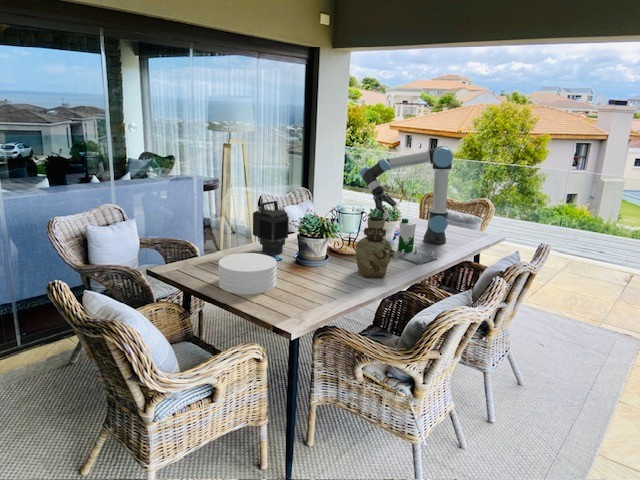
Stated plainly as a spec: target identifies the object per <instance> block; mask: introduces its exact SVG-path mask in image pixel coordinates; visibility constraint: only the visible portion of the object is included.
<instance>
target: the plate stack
mask: <svg viewBox="0 0 640 480" xmlns="http://www.w3.org/2000/svg"><path fill="white" fill-rule="evenodd" d="M277 265H278V262H277V260H276V259H275V258H274V257H272V256H271V255H267V254H264V253H263V254H262V253H255V252H254V253H253V252H251V253H250V252H242V253H233V254H229V255H226V256H223V257H221V258H220V259H219V261H218V286H219V288H221V290H223V291H225V292H228V293H232V294H237V295H258V294H262V293H263V294H264V293H266V292H269V291H272V290H273V289H274V288H275V287H276V286H277V274H278V273H277V269H278V268H277Z"/></svg>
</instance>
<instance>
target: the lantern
mask: <svg viewBox="0 0 640 480" xmlns="http://www.w3.org/2000/svg"><path fill="white" fill-rule="evenodd" d="M272 204H273V208H274V209H273V210H271V209H265V206H267V205H272ZM257 209H258V210H256V211H253V213H252V235H253V236H254V237H257V238H258V239H259V244H260V245H262V246H261V247H262V248H261V252H262V253H263V255H267V256H278V255H281V254H283V251H284V250H283V248H284V247H283V246H285V245H286V239H288V238H289V218H290V217H289V216H288V212H286V211H285V210H281V209H279V204H278V201H276V200H272V201H267V202H262V203H260V204H259V206H258V207H257Z"/></svg>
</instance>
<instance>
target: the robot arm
mask: <svg viewBox="0 0 640 480" xmlns="http://www.w3.org/2000/svg"><path fill="white" fill-rule="evenodd" d="M453 160H454V155H453V152H452V150H451V149H450V148H449V147H448V146H446V145H440V146H437V147H433V148H430V149H427V151H421V152H417V153H411V154H406V155H401V156H396V157H390V158H382V159H379V160H378V161H377V163H375V164H374V165H372V167H369V166H366V167H364V168H362V169H361V170H360V171H359V175H360V177H361V179H362V180H363V182H364V184H365V186H367V188H368V189H369V191H370V192H371V194H372V195H373V196H372V199H373V200H374V204H375V208H376V210H377V211H379V212H381V214H382V215H383V217H384V219H387V218H389V217H390V215H389V213H388V212H387V210H386V208H384V206H383V203H387V204H388V205H389V206H391V208H392V209H395V210H397V211H398V212H399V215H401V211H400V210H399V208H398V207H397V204H398V203H397V202H396V201H395V200H394V199H393V198H392V197H391V196H390V195H389V194H388V193H387V192H385V193H384V191H385V190H384V188H383V187H382V185H381V183H380V182H379V181H378V179H377V178H379V177H380V176H381V175H383V174H385V172H387V171H390V170H397V169H401V168H407V167H414V166H420V165H423V164H430V165H432V170H433V171H434V177H433V194H432V207H430V208H429V210H428V219H427V228H426V232H425V234H424V236H423V239H422V240H423V242H425V243H428V244H433V245H444V244H446V243H447V237H446V232H445V231H446V230H447V228H448V225H449V223H448V222H449V221H448V217H449V210H448V209H447V200H448V199H447V197H448V187H449V186H448V183H449V172H450V171H451V170H452V164H453Z"/></svg>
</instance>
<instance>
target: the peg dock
mask: <svg viewBox="0 0 640 480" xmlns="http://www.w3.org/2000/svg"><path fill="white" fill-rule="evenodd" d="M396 257H397V258H398V259H400V260H403V261H406V262H408V263H412V264H415V265H418V266H419V265H423V264H427V263H430V262H434V261H437V260H438V257H436V256H435V251H431V254H430V255H429V254H426V253H423V252H419V251H418V245H415V246H414V251H411V252H408V253H405V252H404V249H402V251H401V255H397V256H396Z"/></svg>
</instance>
